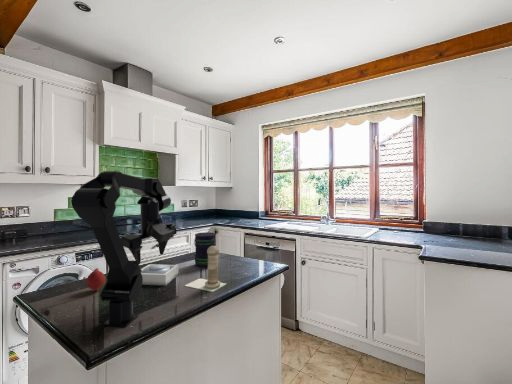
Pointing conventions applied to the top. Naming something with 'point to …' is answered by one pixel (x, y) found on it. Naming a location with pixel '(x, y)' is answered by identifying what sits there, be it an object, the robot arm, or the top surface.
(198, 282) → the game track
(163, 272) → the dome button
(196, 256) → the dark blue cylinder
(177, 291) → the top surface
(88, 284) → the onion
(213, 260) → the beech pawn
